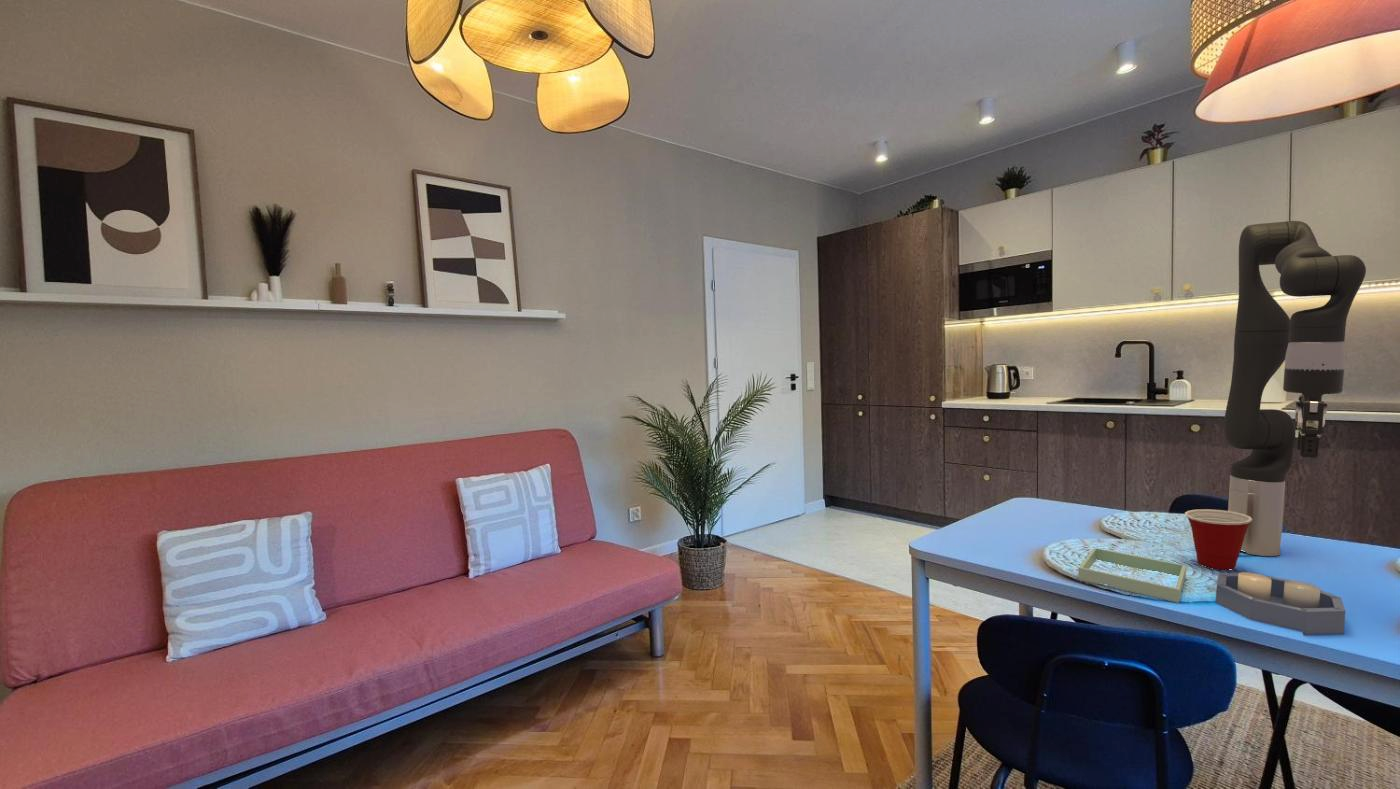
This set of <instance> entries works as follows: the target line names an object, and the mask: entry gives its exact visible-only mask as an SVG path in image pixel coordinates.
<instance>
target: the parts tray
mask: <svg viewBox="0 0 1400 789" xmlns="http://www.w3.org/2000/svg"><path fill="white" fill-rule="evenodd" d="M1088 553H1089V554H1087V556H1086V557H1085V559H1083V562H1081V563H1080V565H1079V567H1078V570H1077V572H1078V574H1077V580H1078V581H1081V582H1086V583H1090V584H1095V585H1098V584H1099V583H1102V584H1107V585H1108V588H1110V589H1117V590H1120V591H1125V592H1128V593H1129V592H1130V593H1133V594H1138V595H1143V596H1146V597H1151V598H1156V599H1159V600H1164V601H1169V602H1172V603H1177V604H1179V603H1180V599H1181V596H1182V593H1181V591H1182V592H1183V589H1182V588H1184V585H1183V584H1185V582H1184V581H1186V578H1185V577H1187V564H1183V563H1182V564H1181V563H1180V564H1179V563H1175V562H1171V561H1170V562H1169V561H1165V560H1161V559H1160V560H1159V559H1156V558H1150V557H1147V556H1146V557H1144V556H1140V555H1134V554H1130V553H1124V552H1120V551H1114V550H1110V549H1103V548H1098V547H1093V548H1092V549H1091V550H1090V552H1088ZM1096 559H1097V560H1101V561H1106V562H1112V563H1115V565H1116V567H1118V565H1117V564H1119V566H1121V565H1123V567H1125V566H1128V567H1131V568H1133V569H1130V570H1134V571H1133V572H1137V571H1136V570H1138V571H1141V570H1139V569H1142V570H1143V569H1146V570H1152V571H1158V572H1164V573H1167V574H1172V575H1177V576H1179V578H1178V582H1177V585H1176V588H1174V587H1169V586H1164V585H1160V584H1155V583H1151V582H1146V581H1141V580H1137V579H1132V578H1128V577H1123V576H1118V575H1114V574H1109V573H1105V572H1100V571H1095V570H1091V569H1089V568H1090V567H1091V566H1092V564H1093V563H1094V562H1096V561H1095V560H1096ZM1124 565H1125V566H1124ZM1128 567H1127V568H1128ZM1137 568H1138V569H1137ZM1117 569H1118V568H1117ZM1138 573H1139V572H1138ZM1133 574H1134V573H1133ZM1110 586H1111V587H1110Z"/></svg>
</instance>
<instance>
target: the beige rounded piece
mask: <svg viewBox="0 0 1400 789" xmlns="http://www.w3.org/2000/svg"><path fill="white" fill-rule="evenodd" d="M1320 590H1321V588H1320V587H1319V586H1317V585H1314V584H1312V583H1308V582H1303V581H1299V580H1291V581H1285V582H1284V595H1283V605H1288V606H1293V607H1298V608H1319V601H1320Z"/></svg>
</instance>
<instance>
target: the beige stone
mask: <svg viewBox="0 0 1400 789" xmlns="http://www.w3.org/2000/svg"><path fill="white" fill-rule="evenodd" d="M1263 575H1264V574H1258V573H1254V572H1247V571H1246V572H1245V571H1244V572H1243V571H1241V572H1239V574H1238V589H1237V591H1240V592H1242V593H1244V594H1246V595H1249V596H1251V597H1253V598H1255V599H1260V600H1264V601H1269V602H1270V597H1271V582H1272V580H1271V579H1270V578H1268V577H1266V576H1267V575H1264V576H1263Z"/></svg>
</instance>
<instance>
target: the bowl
mask: <svg viewBox="0 0 1400 789" xmlns="http://www.w3.org/2000/svg"><path fill="white" fill-rule="evenodd" d="M1239 573H1240V572H1239ZM1239 573H1236V572H1235V573H1218V574H1217V582H1216V591H1215V604H1217V605H1220V606H1221V607H1224V608H1225V609H1228V610H1229V611H1231V612H1234V613H1236V614H1238V615H1240V616H1242V617H1245V618H1246V619H1248V620H1251V621H1255V622H1259V623H1263V624H1268V625H1272V626H1276V627H1281V628H1286V629H1290V630H1294V631H1299V632H1302V635H1305V636H1306V635H1307V636H1312V635H1315V636H1316V635H1317V636H1318V635H1344V633H1345V623H1346V612H1347V610H1346V607H1345V605H1344V603H1343V602H1344V601H1343V599H1342V597H1339V596H1337V595H1334V594H1331V593H1329V592H1327V591H1324V590H1322V589H1320V601H1319V608H1298V607H1293V606H1288V605H1283V595H1284V582H1285V581H1292V580H1290V579H1289V580H1288V579H1284V578H1280V577H1274V576H1271V575H1270V576H1269V575H1264V574H1262V575H1263V576H1266V577H1268V578H1270V579H1271V580H1272V582H1271V597H1270V602H1269V601H1264V600H1260V599H1255V598H1253V597H1251V596H1249V595H1246V594H1244V593H1242V592H1240V591H1237V589H1238V574H1239Z"/></svg>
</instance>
